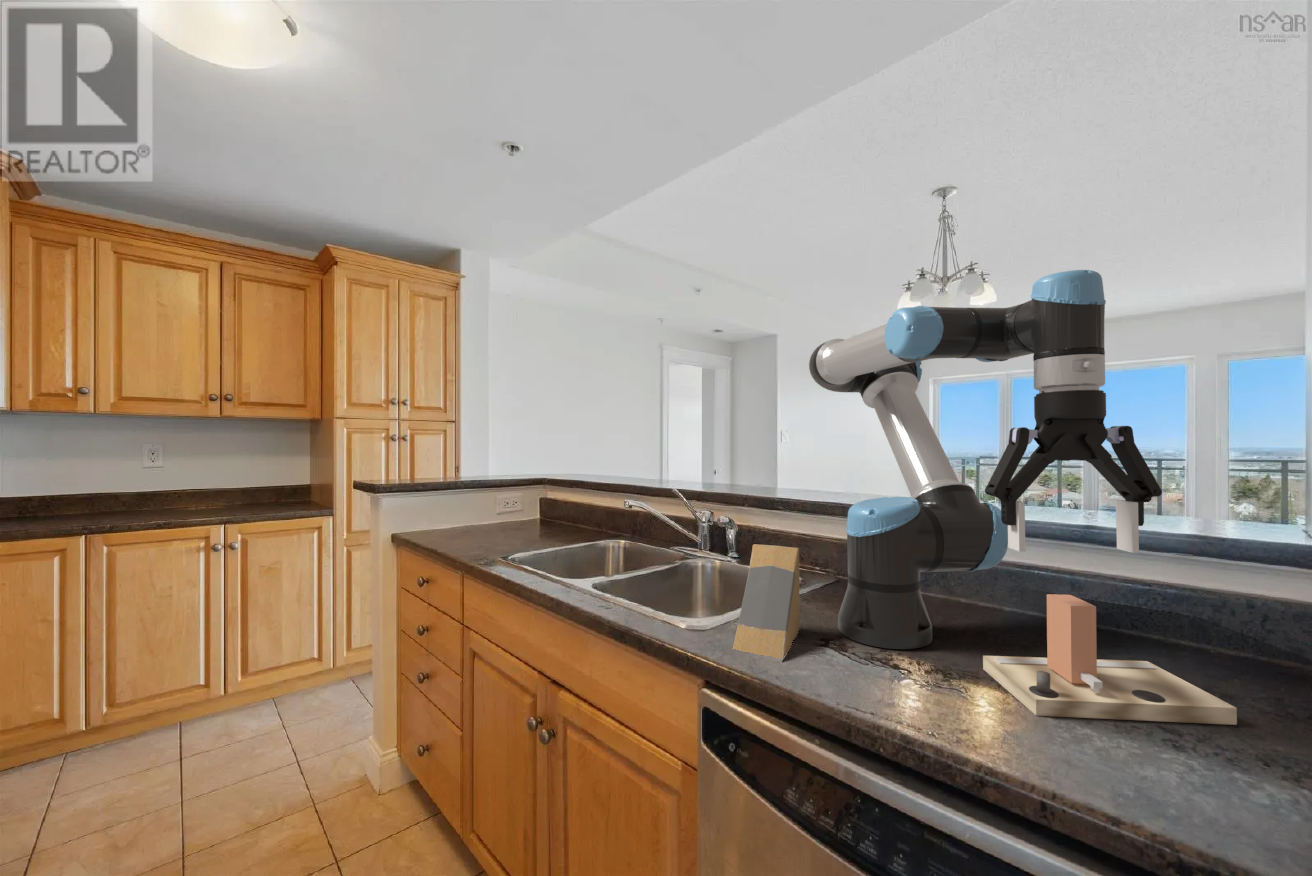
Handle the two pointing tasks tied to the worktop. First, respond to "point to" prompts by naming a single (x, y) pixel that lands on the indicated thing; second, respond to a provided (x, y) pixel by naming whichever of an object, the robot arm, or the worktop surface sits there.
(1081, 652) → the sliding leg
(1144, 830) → the worktop surface
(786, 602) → the sandwich container
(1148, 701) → the board
